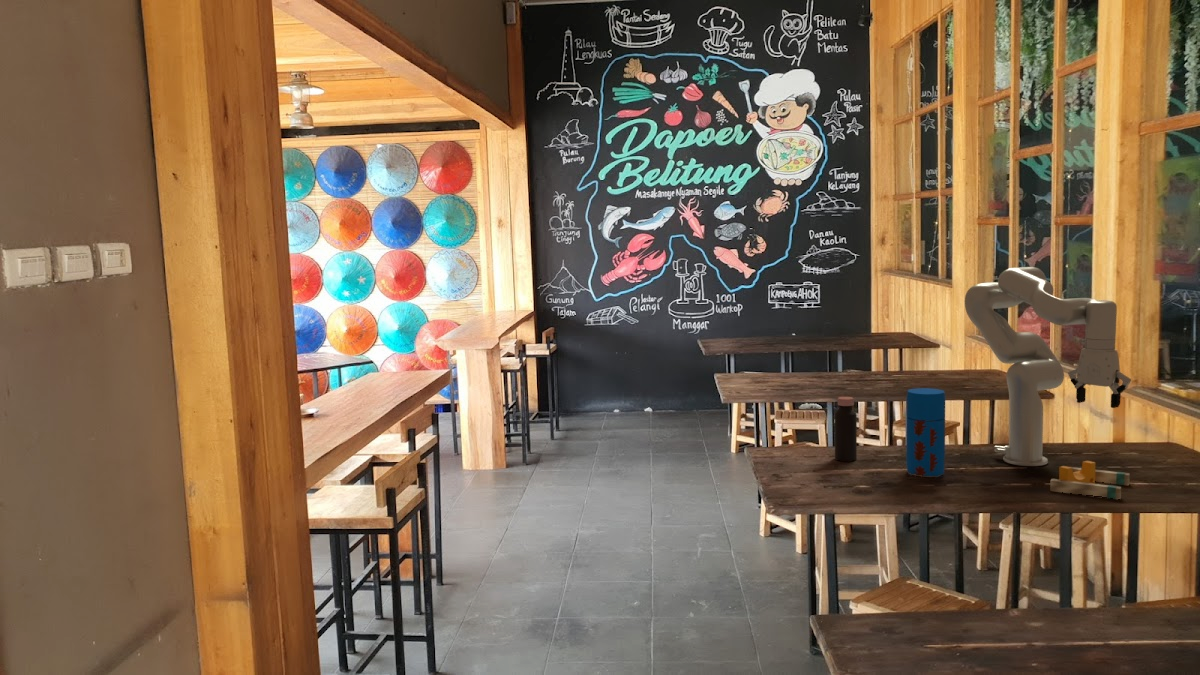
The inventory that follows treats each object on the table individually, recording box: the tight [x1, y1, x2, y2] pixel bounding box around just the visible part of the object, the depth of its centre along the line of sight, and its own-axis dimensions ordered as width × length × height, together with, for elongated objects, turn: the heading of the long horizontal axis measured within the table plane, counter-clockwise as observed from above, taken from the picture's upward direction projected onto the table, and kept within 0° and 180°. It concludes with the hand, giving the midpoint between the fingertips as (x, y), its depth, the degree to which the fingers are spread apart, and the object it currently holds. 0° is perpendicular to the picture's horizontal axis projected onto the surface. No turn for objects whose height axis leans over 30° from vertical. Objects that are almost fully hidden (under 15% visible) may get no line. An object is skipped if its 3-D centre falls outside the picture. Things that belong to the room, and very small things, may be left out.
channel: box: [1049, 466, 1131, 500], centre depth 263 cm, size 17×18×3 cm
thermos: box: [906, 387, 946, 476], centre depth 282 cm, size 11×11×25 cm
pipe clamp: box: [1058, 460, 1096, 484], centre depth 265 cm, size 12×4×6 cm, turn 118°
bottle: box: [834, 396, 858, 462], centre depth 302 cm, size 7×7×20 cm
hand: (1097, 404), depth 266 cm, fingers open, 9 cm apart
